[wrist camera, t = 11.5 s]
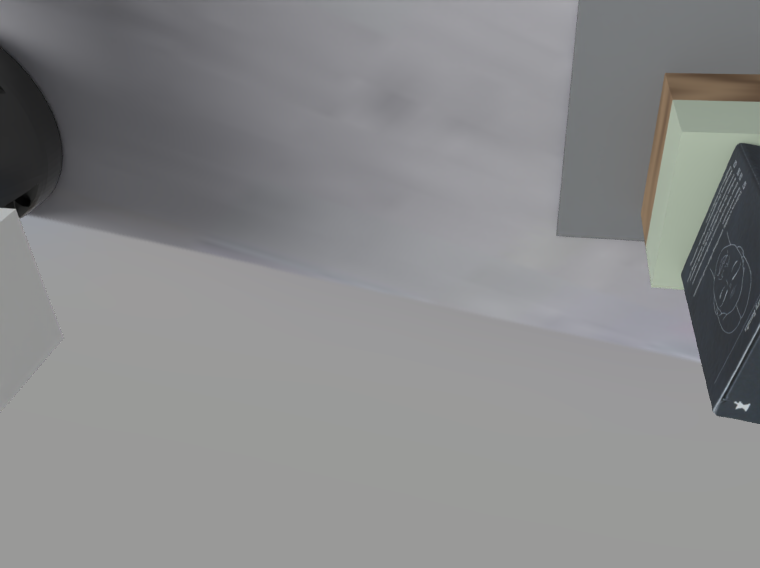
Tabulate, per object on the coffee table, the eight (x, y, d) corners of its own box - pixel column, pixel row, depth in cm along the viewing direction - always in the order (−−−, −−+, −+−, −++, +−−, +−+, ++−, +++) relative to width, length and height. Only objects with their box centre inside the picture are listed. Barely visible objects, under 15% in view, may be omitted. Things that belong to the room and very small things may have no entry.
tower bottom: (640, 213, 46) (645, 247, 43) (664, 72, 41) (672, 99, 37) (797, 222, 44) (814, 258, 41) (844, 75, 39) (867, 104, 36)
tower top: (645, 247, 43) (651, 287, 39) (672, 99, 37) (681, 131, 34) (814, 258, 41) (835, 301, 38) (867, 104, 36) (896, 138, 32)
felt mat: (556, 232, 48) (556, 235, 48) (579, -4, 40) (579, -2, 39) (804, 247, 45) (806, 251, 45) (888, -6, 36) (891, -3, 36)
